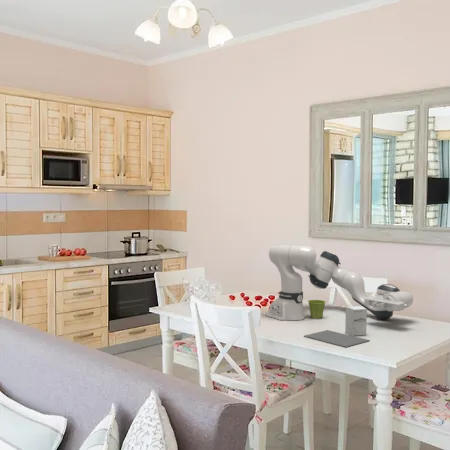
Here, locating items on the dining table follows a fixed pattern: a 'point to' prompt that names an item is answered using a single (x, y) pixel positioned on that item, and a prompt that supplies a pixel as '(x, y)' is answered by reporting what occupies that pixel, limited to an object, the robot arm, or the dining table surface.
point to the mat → (336, 338)
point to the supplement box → (356, 320)
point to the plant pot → (316, 308)
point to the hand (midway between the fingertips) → (375, 305)
